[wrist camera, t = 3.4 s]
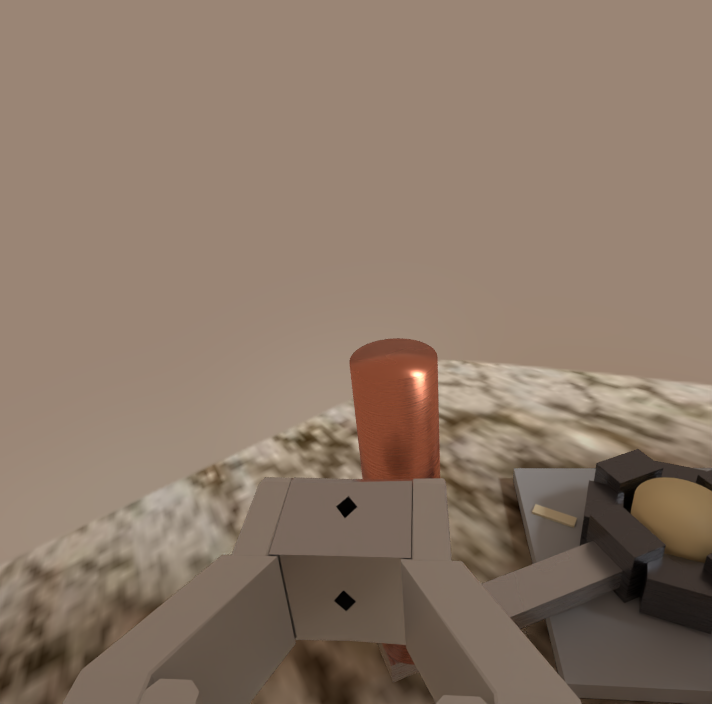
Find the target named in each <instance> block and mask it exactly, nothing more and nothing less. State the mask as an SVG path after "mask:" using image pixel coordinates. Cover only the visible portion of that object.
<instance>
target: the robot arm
mask: <svg viewBox="0 0 712 704" xmlns="http://www.w3.org/2000/svg"><path fill="white" fill-rule="evenodd" d="M295 640H338V641H350V640H351V641H360V642H374V643H387V644H400V645H406V649H407V651H408V653H409V654H410V656H411V658H412V660H413V662H414V664H415V666H416V667H417V669H418V671H419V673H420V675H421V677H422V679H423V681H424V682H425V684H426V686H427V688H428V690H429V692H430V694H431V695H432V697H433V699H434V701H435V703H436V704H582V703H581V700H580V699H579V698H578V697H577V695H576V694H575V693H574V692H573V691H572V690H571V688H570V687H569V686H568V685H567V684H566V682H565V681H564V680H563V679H562V678H561V677H560V675H559V674H558V673H557V672H556V671H555V670H554V668H553V667H552V666H551V665H550V664H549V663H548V661H547V660H546V659H545V658H544V657H543V656H542V654H541V653H540V652H539V651H538V650H537V649H536V647H535V646H534V645H533V644H532V643H531V642H530V640H529V639H528V638H527V637H526V636H525V634H524V633H523V632H522V631H521V630H520V629H519V627H518V626H517V625H516V624H515V623H514V622H513V620H512V619H511V618H510V617H509V616H508V615H507V613H506V612H505V611H504V610H503V609H502V608H501V606H500V605H499V604H498V603H497V602H496V601H495V599H494V598H493V597H492V596H491V595H490V594H489V592H488V591H487V590H486V589H485V588H484V586H483V585H482V584H481V583H480V582H479V581H478V579H477V578H476V577H475V576H474V575H473V574H472V572H471V571H470V570H469V569H468V568H467V567H466V565H465V564H464V563H463V562H462V561H452V558H451V544H450V531H449V518H448V504H447V491H446V482H445V480H444V478H427V479H326V478H274V477H265V478H264V479H263V480H262V481H261V482H260V483H259V485H258V488H257V490H256V493H255V495H254V498H253V501H252V503H251V506H250V508H249V511H248V514H247V516H246V519H245V521H244V524H243V527H242V529H241V532H240V534H239V537H238V540H237V542H236V545H235V547H234V550H233V552H232V555H222V556H220V557H219V558H218V559H217V560H215V561H214V562H213V563H212V564H211V565H209V566H208V567H207V568H206V569H204V570H203V571H202V572H201V573H200V574H198V575H197V576H196V577H195V578H193V579H192V580H191V581H190V582H189V583H187V584H186V585H185V586H184V587H182V588H181V589H180V590H179V591H177V592H176V593H175V594H174V595H173V596H171V597H170V598H169V599H168V600H166V601H165V602H164V603H163V604H162V605H160V606H159V607H158V608H157V609H155V610H154V611H153V612H152V613H151V614H149V615H148V616H147V617H146V618H144V619H143V620H142V621H141V622H140V623H138V624H137V625H136V626H135V627H133V628H132V629H131V630H130V631H129V632H127V633H126V634H125V635H124V636H122V637H121V638H120V639H119V640H117V641H116V642H115V643H114V644H113V645H111V646H110V647H109V648H108V649H106V650H105V651H104V652H103V653H102V654H100V655H99V656H98V657H97V658H95V659H94V660H93V661H92V662H91V663H89V664H88V665H87V666H86V667H84V668H83V669H82V670H81V671H80V673H79V675H78V677H77V678H76V680H75V682H74V684H73V685H72V687H71V689H70V691H69V693H68V694H67V696H66V698H65V700H64V701H63V703H62V704H250V702H251V701H252V700H253V698H254V697H255V696H256V695H257V693H258V692H259V691H260V689H261V688H262V687H263V685H264V684H265V683H266V682H267V680H268V679H269V678H270V676H271V675H272V674H273V672H274V671H275V670H276V669H277V667H278V666H279V665H280V663H281V662H282V661H283V659H284V658H285V657H286V656H287V654H288V653H289V652H290V650H291V649H292V648H293V646H294V645H295V644H296V642H295Z"/></svg>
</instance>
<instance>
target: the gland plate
mask: <svg viewBox="0 0 712 704" xmlns="http://www.w3.org/2000/svg"><path fill="white" fill-rule="evenodd" d="M694 469H699V470H705V471H706V472H707V471H709V470H712V468H694ZM595 471H596V468H514V475H513V481H514V485H515V490H516V494H517V498H518V503H519V507H520V511H521V516H522V520H523V524H524V529H525V533H526V537H527V541H528V546H529V550H530V554H531V559H532V563H533V564H534V563H537V562H539V561H542V560H545V559H547V558H550V557H552V556H555V555H557V554H560V553H563V552H565V551H568V550H570V549H573V548H576V547H578V546H580V538H581V531H582V524H583V517H584V510H585V503H586V497H587V490H588V483H589V480H590V481H594V477H595ZM630 514H631V515H632V516H634V517H635V518H636V519H637V520H638V521H639V522H640V523H642V524H643V525H644V526H645V527H646V528H647V529H648V530H649V531H651V532H652V533H653V534H654V535H655V536H656V537H657V538H659V539H660V540H661V541H662V542H663V543H664V544H665V545H666V547H665V551H664V553H666V554H670V555H673V556H677V557H681V558H685V559H689V560H693V561H697V562H701V563H705V560H706V557H707V555H709V554H711V553H712V491H711V490H709V489H707V488H705V487H703V486H701V485H699V484H696V483H693V482H690V481H687V480H683V479H678V478H667V477H663V478H654V479H650V480H647V481H645V482H643V483H641V484H640V485H639V486H638V487H637V489H636V491H635V494H634V498H633V503H632V508H631V513H630ZM546 623H547V628H548V632H549V636H550V640H551V645H552V649H553V653H554V658H555V662H556V666H557V671H558V674H559V675H560V677H561V678H562V679H563V680H564V681H565V682H566V684H567V685H568V686H569V687H570V688H571V690H572V691H573V692H574V693H575V694H576V695H577V697H578V698H594V699H613V700H631V701H650V702H668V703H687V704H712V632H711V634H708V633H705V632H702V631H699V630H695V629H692V628H689V627H686V626H682V625H679V624H676V623H672V622H669V621H666V620H663V619H659V618H656V617H653V616H650V615H646V614H643V613H640V612H639V597H638V598H636V599H633V600H631V601H629V602H626V603H624V602H623V601H622V600H621V599H620V598H619V597H618V596H617V595H616V594H615V592H614V591H610V592H608V593H605V594H603V595H601V596H598V597H596V598H593V599H591V600H589V601H586V602H584V603H582V604H579V605H577V606H574V607H572V608H570V609H567V610H565V611H562V612H560V613H558V614H555V615H553V616H551V617H548V618H546Z"/></svg>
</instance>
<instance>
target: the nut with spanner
mask: <svg viewBox="0 0 712 704" xmlns="http://www.w3.org/2000/svg"><path fill="white" fill-rule="evenodd" d="M350 371H351V380H352V389H353V398H354V407H355V416H356V424H357V433H358V442H359V451H360V460H361V469H362V477H363V479H427V478H440V453H439V409H438V364H437V353H436V352H435V350H434V349H433V348H432V347H430V346H429V345H427V344H425V343H422V342H420V341H416V340H411V339H399V338H397V339H385V340H379V341H375V342H372V343H369V344H366V345H364V346H362V347H361V348H359V349H358V350H356V351H355V352H354V353H353V355H352V356H351V358H350ZM663 477H667V478H678V479H683V480H687V481H690V482H693V483H696V484H699V485H701V486H703V487H705V488H707V489H709V490H711V491H712V470H709V471H707V472H706V471H705V470H699V469H694V468H689V467H684V466H679V465H674V464H668V463H663V462H658V461H653V460H652V459H651V458H649V457H648V456H647V455H645V454H644V453H642V452H641V451H640V450H638V449H637V450H634V451H631V452H628V453H625V454H622V455H619V456H616V457H614V458H611V459H608V460H605V461H602V462H599V463H597V464H596V471H595V477H594V481H590V480H589V483H588V490H587V497H586V503H585V510H584V517H583V524H582V531H581V538H580V546H578V547H576V548H573V549H570V550H568V551H565V552H563V553H560V554H557V555H555V556H552V557H550V558H547V559H545V560H542V561H539V562H537V563H534V564H532V565H529V566H526V567H524V568H521V569H519V570H516V571H513V572H511V573H508V574H506V575H503V576H500V577H498V578H495V579H493V580H490V581H488V582H485V583H482V585H483V586H484V588H485V589H486V590H487V591H488V592H489V594H490V595H491V596H492V597H493V598H494V599H495V601H496V602H497V603H498V604H499V605H500V606H501V608H502V609H503V610H504V611H505V612H506V613H507V615H508V616H509V617H510V618H511V619H512V620H513V622H514V623H515V624H516V625H517V626H518V627H519V629H522V628H524V627H527V626H529V625H531V624H534V623H536V622H539V621H541V620H543V619H546V618H548V617H551V616H553V615H555V614H558V613H560V612H562V611H565V610H567V609H570V608H572V607H574V606H577V605H579V604H582V603H584V602H586V601H589V600H591V599H593V598H596V597H598V596H601V595H603V594H605V593H608V592H610V591H614V592H615V594H616V595H617V596H618V597H619V598H620V599H621V600H622V601H623V602H624V603H626V602H629V601H631V600H633V599H636V598H638V597H639V612H640V613H643V614H646V615H650V616H653V617H656V618H659V619H663V620H666V621H669V622H672V623H676V624H679V625H682V626H686V627H689V628H692V629H695V630H699V631H702V632H705V633H708V634H711V632H712V553H711V554H709V555H707V557H706V560H705V563H701V562H697V561H693V560H689V559H685V558H681V557H677V556H673V555H670V554H666V553H664V551H665V547H666V545H665V544H664V543H663V542H662V541H661V540H660V539H659V538H657V537H656V536H655V535H654V534H653V533H652V532H651V531H649V530H648V529H647V528H646V527H645V526H644V525H643V524H642V523H640V522H639V521H638V520H637V519H636V518H635V517H634V516H632V515H631V514H630V513H631V508H632V503H633V498H634V494H635V491H636V489H637V487H638V486H639V485H640V484H641V483H643V482H645V481H647V480H650V479H654V478H663ZM377 644H378V647H379V649H380V652H381V654H382V657H383V659H384V662H385V664H386V667H387V669H388V671H389V674H390V676H391V679H392V681H393V682H395V681H398V680H400V679H403V678H405V677H407V676H410V675H412V674H415V673H417V672H419V671H418V669H417V667H416V666H415V664H414V662H413V660H412V658H411V656H410V654H409V653H408V651H407V649H406V645H400V644H387V643H377Z"/></svg>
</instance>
